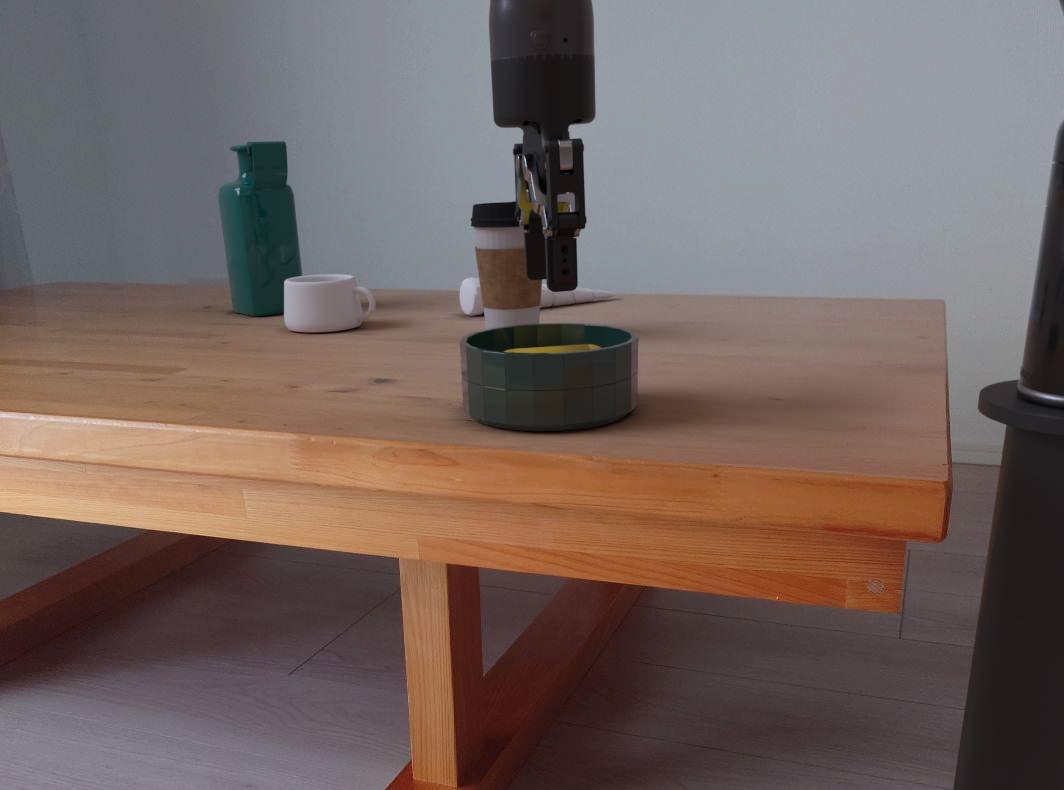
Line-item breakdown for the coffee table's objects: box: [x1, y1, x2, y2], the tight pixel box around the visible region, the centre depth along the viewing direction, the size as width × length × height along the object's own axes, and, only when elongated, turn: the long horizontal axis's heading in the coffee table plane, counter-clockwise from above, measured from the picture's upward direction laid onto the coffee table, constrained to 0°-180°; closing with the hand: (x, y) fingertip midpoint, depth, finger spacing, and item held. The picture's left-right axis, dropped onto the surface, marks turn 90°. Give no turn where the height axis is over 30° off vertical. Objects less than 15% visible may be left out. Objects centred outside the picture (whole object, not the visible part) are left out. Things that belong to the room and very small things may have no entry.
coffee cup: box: [470, 200, 543, 330], centre depth 112 cm, size 8×8×15 cm
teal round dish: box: [459, 322, 639, 432], centre depth 81 cm, size 14×14×6 cm
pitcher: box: [217, 140, 303, 317], centre depth 136 cm, size 10×8×22 cm
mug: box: [283, 273, 376, 334], centre depth 124 cm, size 12×10×6 cm
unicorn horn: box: [459, 277, 618, 317], centre depth 135 cm, size 5×24×5 cm, turn 116°
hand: (550, 284), depth 78 cm, fingers open, 8 cm apart
